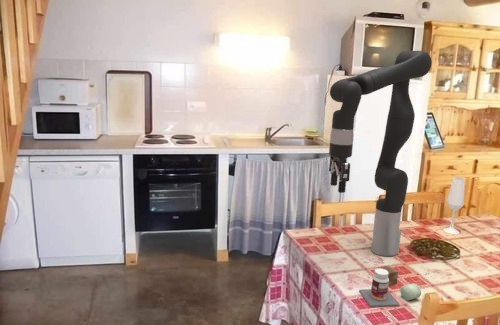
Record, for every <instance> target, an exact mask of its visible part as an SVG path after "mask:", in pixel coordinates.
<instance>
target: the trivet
mask: <svg viewBox="0 0 500 325" xmlns="http://www.w3.org/2000/svg"><path fill="white" fill-rule="evenodd" d="M358 292H359V293H360V295H361V296H362V297H363V299H364V301H365V302H366V301H367V302H366V304H367V305H368V304H369V305H368V306H369V308H379V307H380V308H381V307H382V308H385V307H400V303H399V301H397V299H396V298H395V297H394V296H393V294H391V292H390V291H389V290H388V292H387V298H386V299H385V300H377V299H374V298H373V297H372V296H371V288H370V289H369V288H368V289H364V288H363V289H361V288H360V289H359V291H358Z"/></svg>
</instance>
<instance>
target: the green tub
mask: <svg viewBox="0 0 500 325" xmlns="http://www.w3.org/2000/svg"><path fill="white" fill-rule="evenodd" d="M399 293H400V295H401V298H402V299H403V300H405V301H411V300H415V299H419V298H420V297H421V295H422V290H421V288H420V286H419V285H418V284H417V283H415V282H413V283H408V284H405V285H402V286H401V287H400V291H399Z"/></svg>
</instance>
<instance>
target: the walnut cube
mask: <svg viewBox="0 0 500 325" xmlns="http://www.w3.org/2000/svg"><path fill="white" fill-rule="evenodd" d="M378 268H380V269H385V270H387V271H388V278H389V285H388V287H389V286H395V285H397V283H398V277H399V271H398V270H396V269H395V268H393V267H392V266H390V265H386V266H385V265H384V266H379V267H377V269H378Z"/></svg>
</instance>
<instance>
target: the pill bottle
mask: <svg viewBox="0 0 500 325" xmlns="http://www.w3.org/2000/svg"><path fill="white" fill-rule="evenodd" d="M371 279H372V281H371V288H370V289H371V296H372V297H373V298H374V299H377V300H385V299H386V298H387V292H388V291H389V290H388V289H389V286H388V285H389V278H388V271H387V270H385V269H380V268H378V267H377V268H375V269H374V274H373V276H372V278H371Z"/></svg>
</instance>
